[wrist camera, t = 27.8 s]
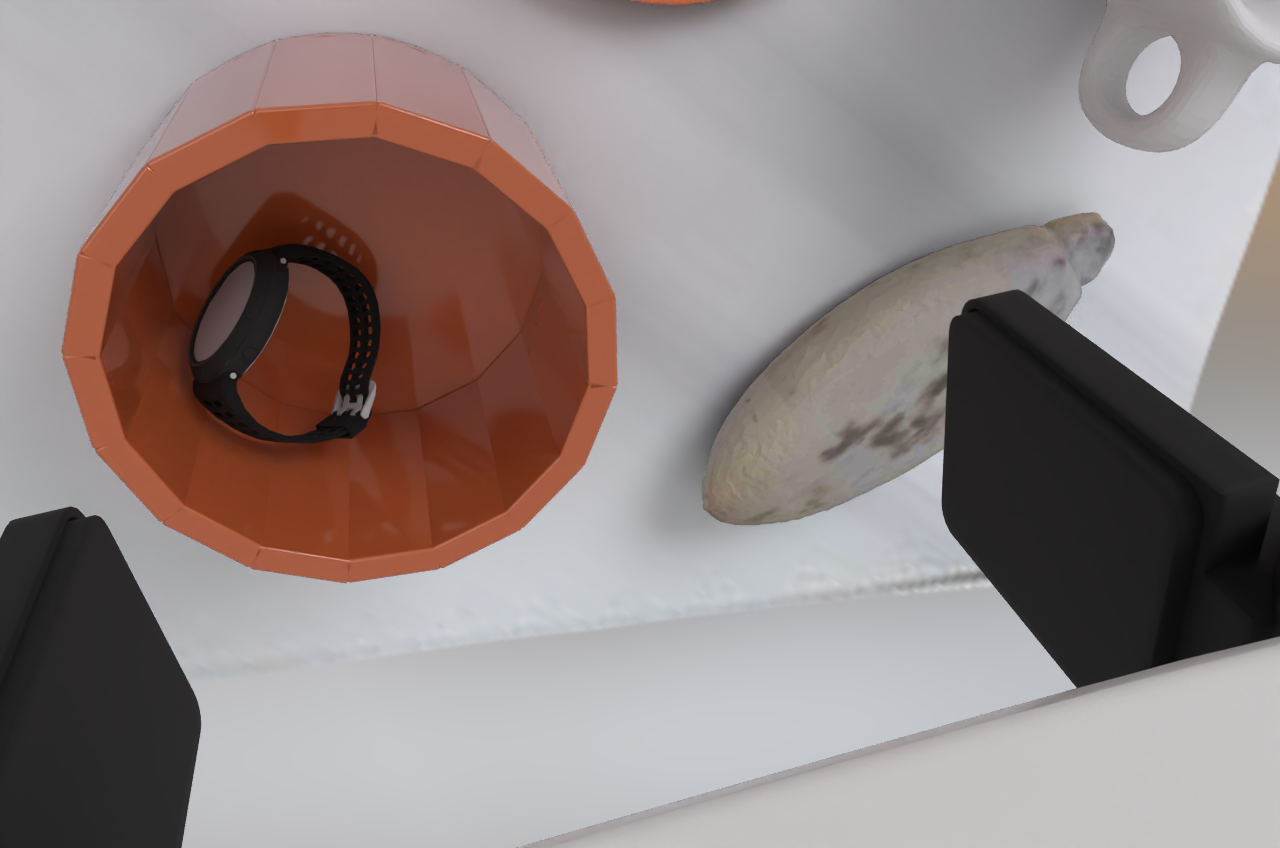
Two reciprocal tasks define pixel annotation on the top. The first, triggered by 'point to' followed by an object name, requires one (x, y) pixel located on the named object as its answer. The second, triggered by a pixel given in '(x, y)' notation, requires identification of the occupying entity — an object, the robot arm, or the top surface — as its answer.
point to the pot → (318, 318)
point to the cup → (1209, 75)
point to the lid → (673, 1)
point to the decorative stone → (880, 374)
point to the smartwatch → (246, 322)
